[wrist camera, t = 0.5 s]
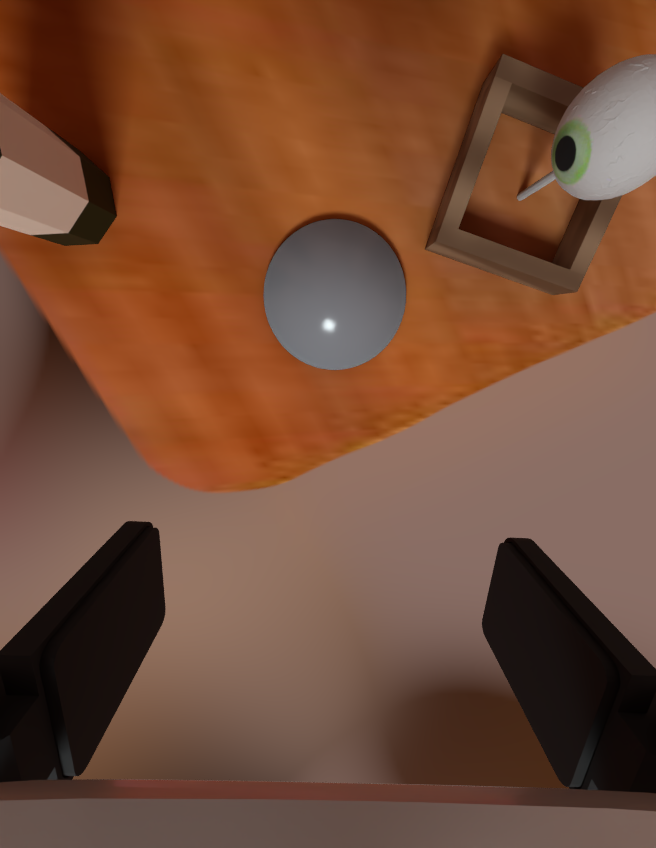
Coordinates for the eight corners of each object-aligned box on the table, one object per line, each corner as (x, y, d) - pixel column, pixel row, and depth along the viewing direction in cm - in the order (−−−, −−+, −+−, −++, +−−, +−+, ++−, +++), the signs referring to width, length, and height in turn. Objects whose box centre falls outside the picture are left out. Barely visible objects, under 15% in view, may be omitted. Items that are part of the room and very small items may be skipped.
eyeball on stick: (474, 171, 33) (593, 52, 19) (550, 139, 33) (732, -9, 18) (493, 249, 35) (614, 196, 20) (564, 221, 34) (741, 145, 20)
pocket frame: (483, 82, 31) (502, 53, 28) (622, 140, 33) (657, 119, 29) (424, 249, 35) (436, 241, 31) (553, 295, 36) (577, 291, 33)
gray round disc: (286, 199, 33) (285, 197, 33) (424, 249, 35) (427, 247, 34) (249, 345, 37) (248, 346, 36) (377, 385, 38) (378, 386, 38)
